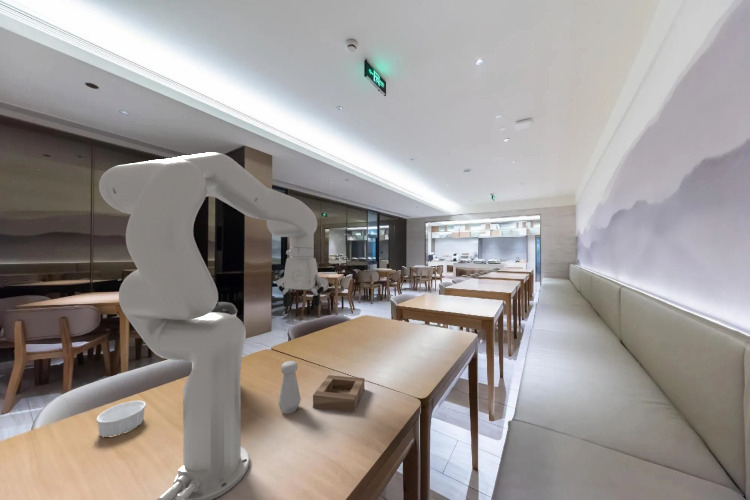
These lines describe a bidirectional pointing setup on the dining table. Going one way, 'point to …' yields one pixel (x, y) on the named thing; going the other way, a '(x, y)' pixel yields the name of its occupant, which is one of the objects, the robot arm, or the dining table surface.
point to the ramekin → (121, 418)
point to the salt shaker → (289, 388)
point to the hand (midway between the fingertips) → (301, 306)
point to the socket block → (339, 393)
